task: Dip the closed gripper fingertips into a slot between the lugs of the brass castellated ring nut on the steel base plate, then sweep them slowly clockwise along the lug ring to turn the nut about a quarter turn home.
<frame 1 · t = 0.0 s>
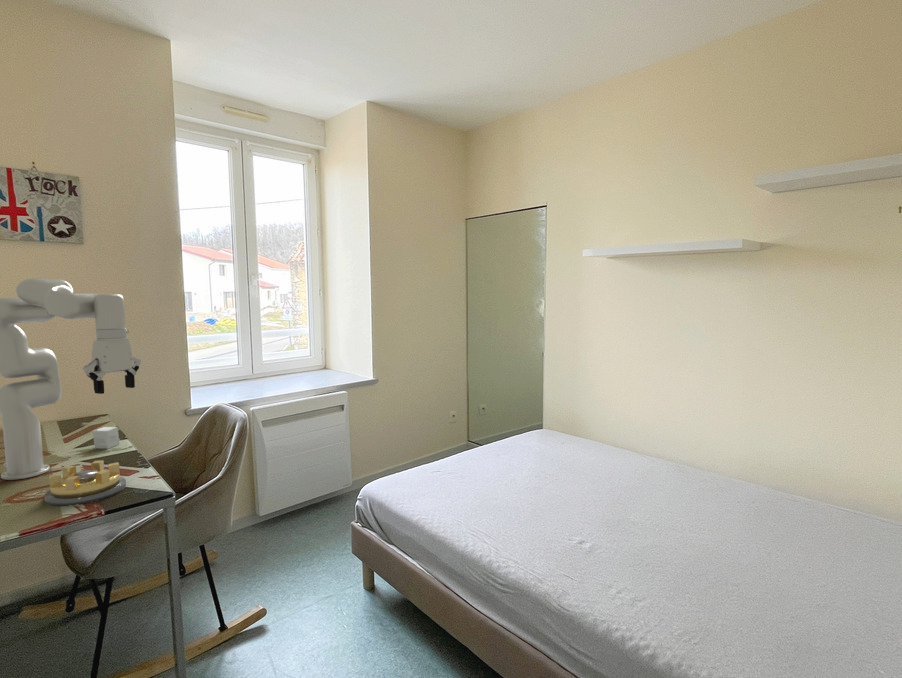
hand: (115, 390, 150), 31 cm above the table, tool pointing down, fingers open, 9 cm apart
base plate: (87, 492, 150), on the table
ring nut: (85, 478, 150), point 4 cm above the table, hinge at 0.0°
skincare box: (107, 446, 197), on the table
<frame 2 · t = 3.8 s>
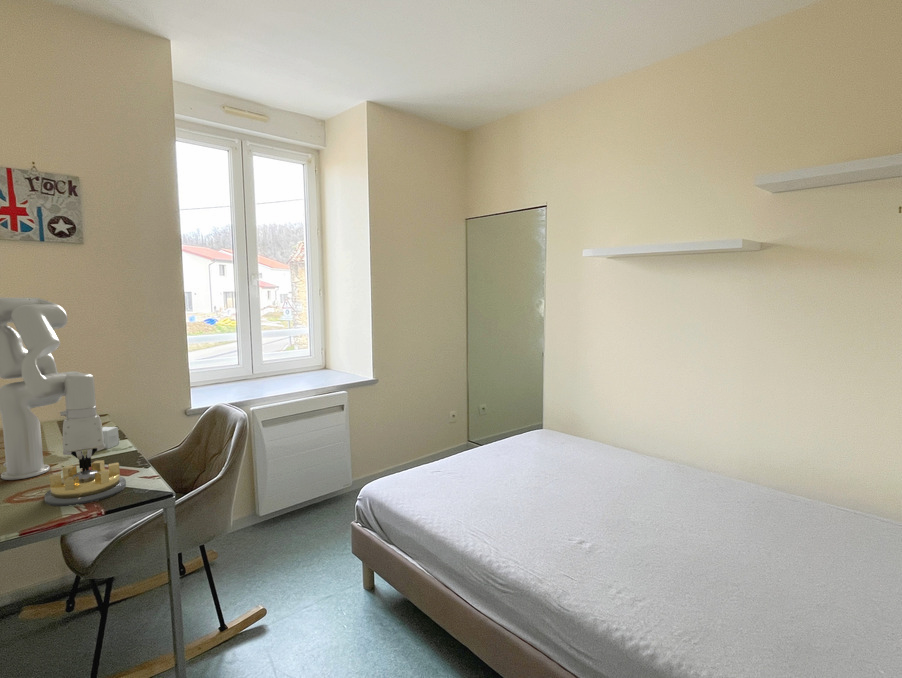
hand: (85, 469, 155), 5 cm above the table, tool pointing down, fingers closed
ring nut: (85, 478, 150), point 4 cm above the table, hinge at 1.2°, touching gripper
everything else where it was.
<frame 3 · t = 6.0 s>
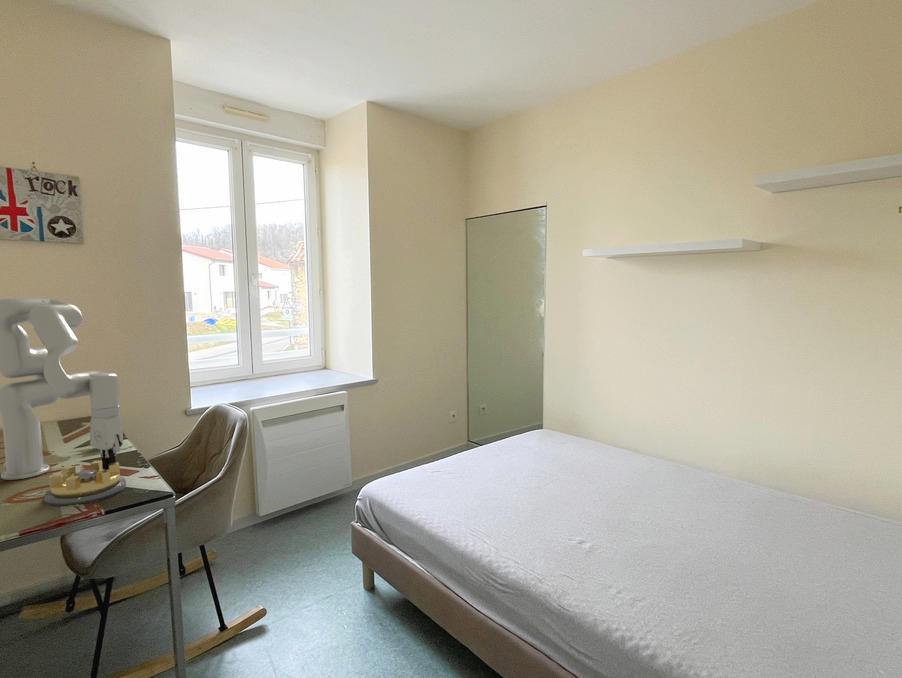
hand: (109, 468, 156), 5 cm above the table, tool pointing down, fingers closed
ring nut: (85, 478, 150), point 4 cm above the table, hinge at 58.5°, touching gripper
everything else where it was.
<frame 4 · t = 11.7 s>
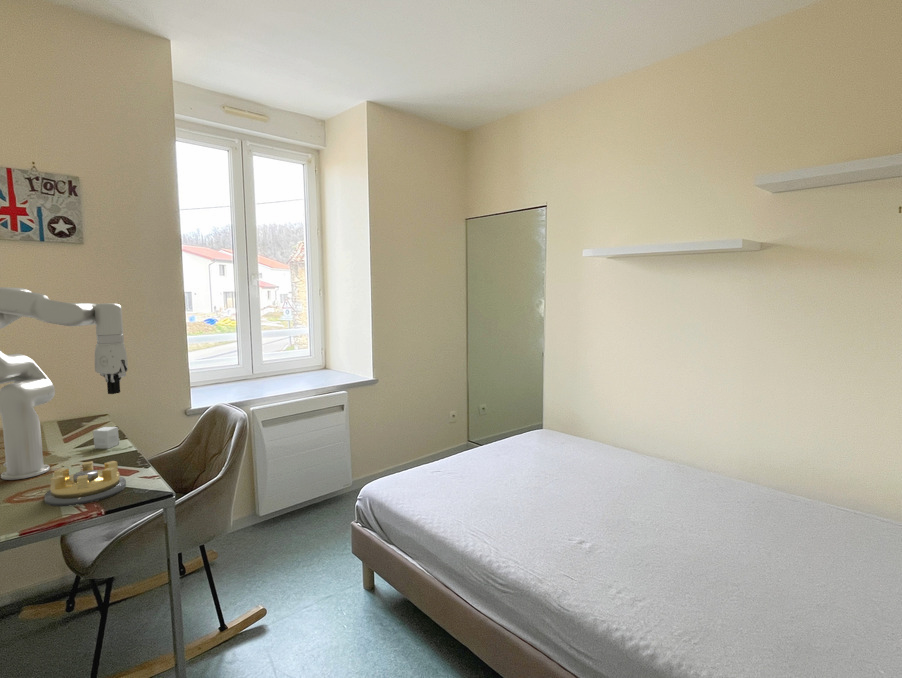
hand: (114, 393, 167), 27 cm above the table, tool pointing down, fingers closed
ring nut: (85, 478, 150), point 4 cm above the table, hinge at 99.6°
everything else where it was.
at the end: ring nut at +100° (first picture: +0°); the gripper is holding nothing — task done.
